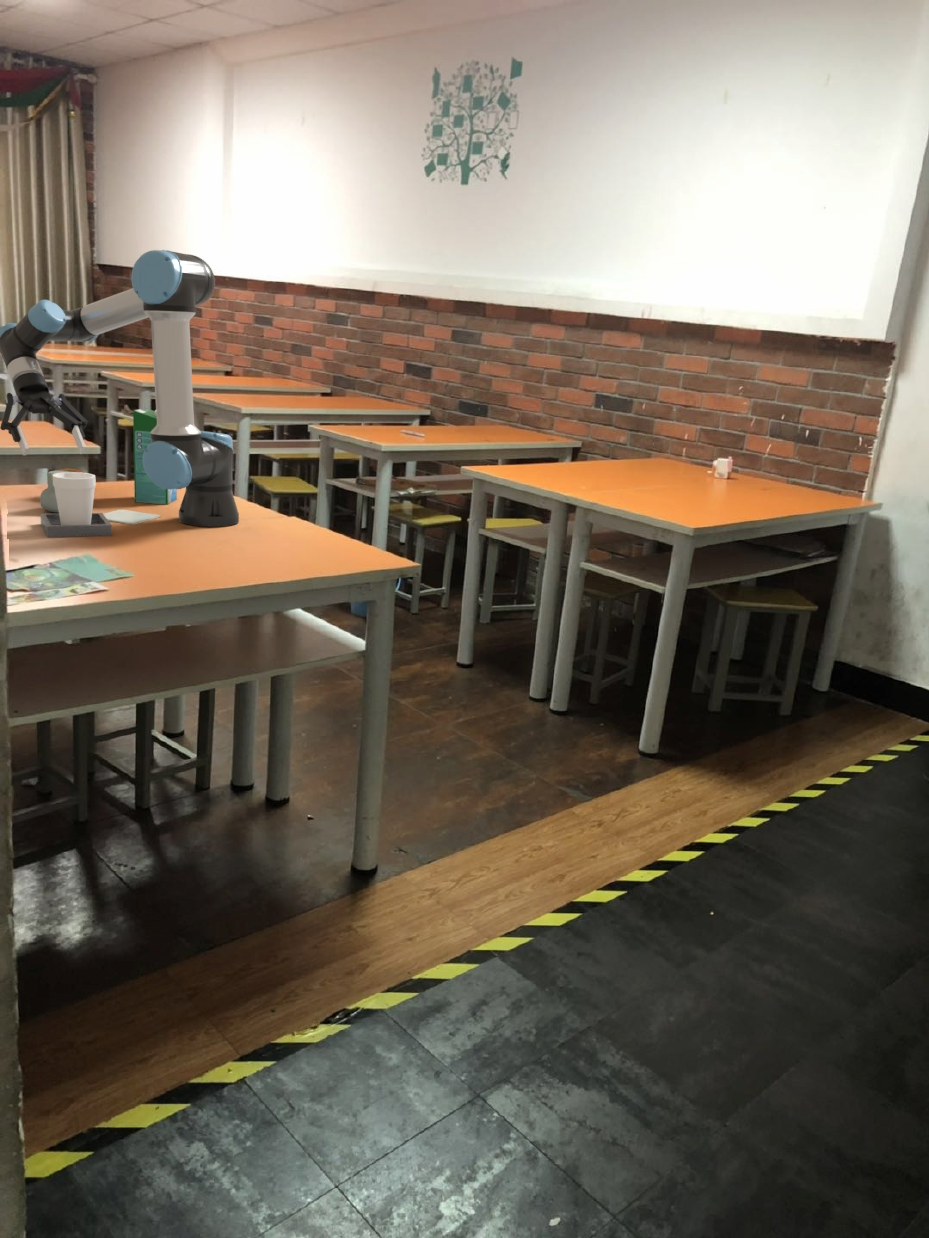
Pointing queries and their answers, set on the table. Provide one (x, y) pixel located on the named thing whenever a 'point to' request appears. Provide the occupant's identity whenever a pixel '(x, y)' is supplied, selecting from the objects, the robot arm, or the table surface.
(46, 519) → the grey square frame
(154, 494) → the milk carton
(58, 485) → the foam cup
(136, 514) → the pad
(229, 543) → the table surface
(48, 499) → the air freshener
